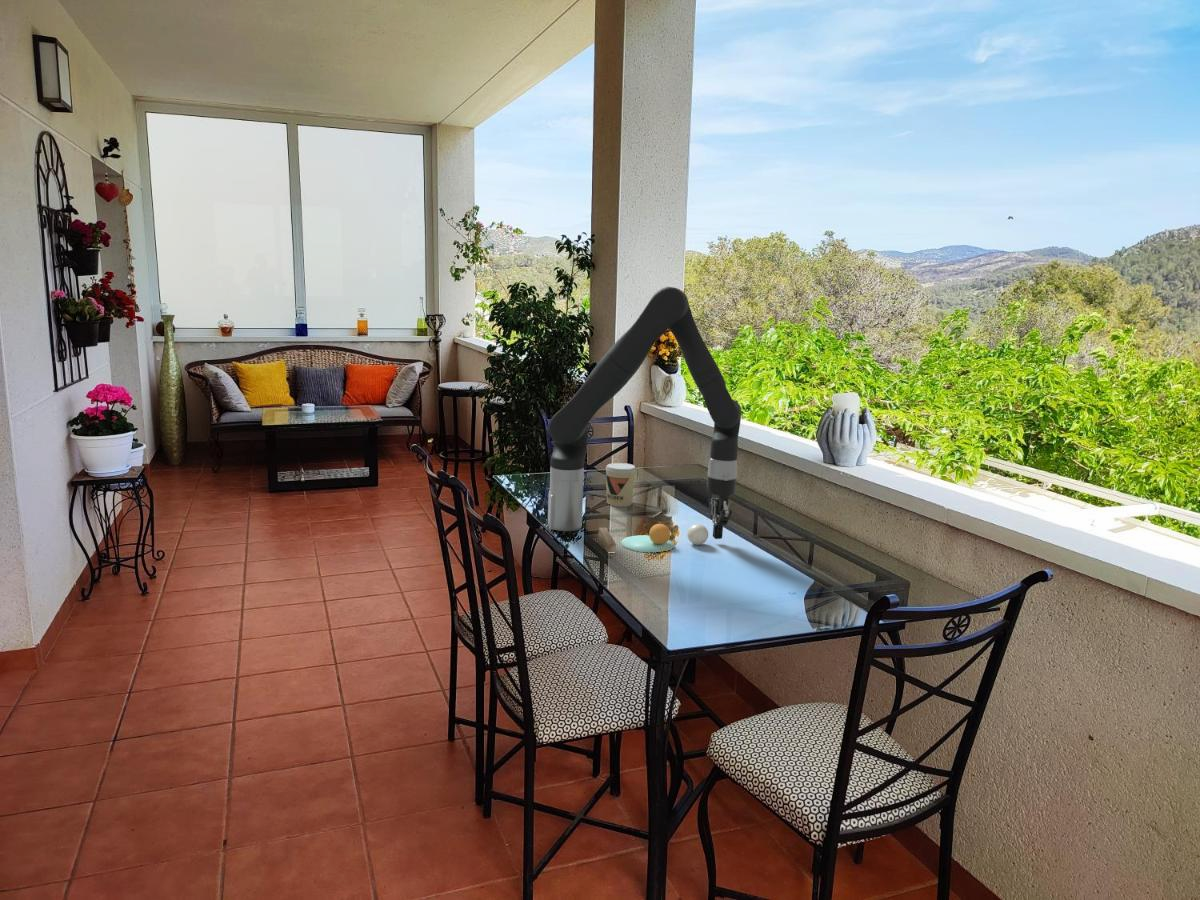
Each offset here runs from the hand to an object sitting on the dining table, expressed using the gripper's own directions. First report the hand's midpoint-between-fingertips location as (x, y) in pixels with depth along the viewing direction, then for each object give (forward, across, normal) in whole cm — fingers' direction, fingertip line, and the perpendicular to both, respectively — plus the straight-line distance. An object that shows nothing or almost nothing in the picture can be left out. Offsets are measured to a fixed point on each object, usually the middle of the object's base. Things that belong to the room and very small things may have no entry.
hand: (717, 537), depth 211 cm
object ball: (-1, 0, -16) cm, 16 cm away
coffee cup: (+2, -40, -19) cm, 44 cm away
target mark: (+2, 0, -19) cm, 19 cm away
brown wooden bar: (+2, 0, -30) cm, 30 cm away
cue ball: (-1, +1, -6) cm, 6 cm away
